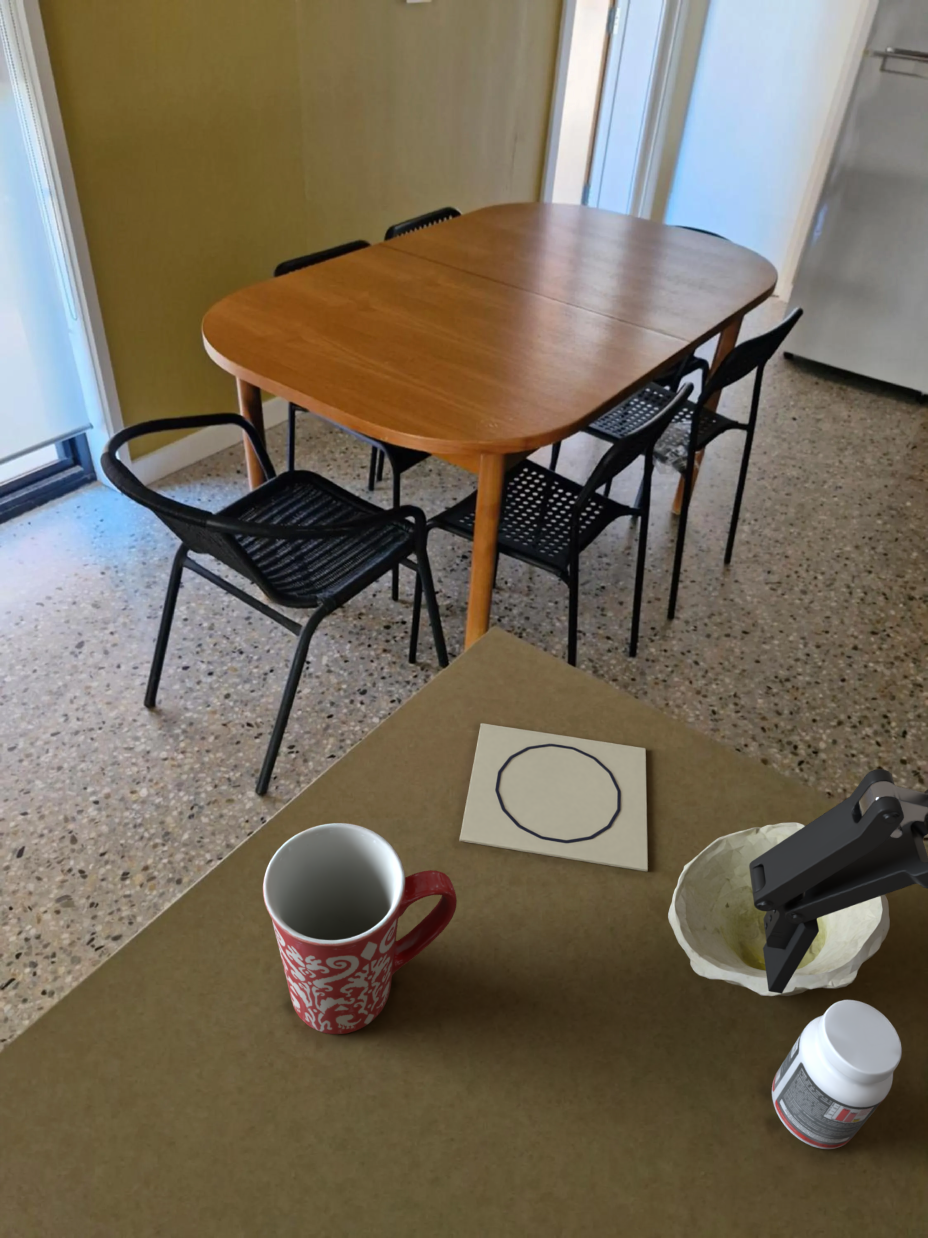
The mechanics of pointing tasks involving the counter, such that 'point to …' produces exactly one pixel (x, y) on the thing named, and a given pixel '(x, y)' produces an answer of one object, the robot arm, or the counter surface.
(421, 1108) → the counter surface
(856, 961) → the bowl
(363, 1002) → the mug
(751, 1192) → the counter surface
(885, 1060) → the pill bottle
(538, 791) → the beige flat square sheet
